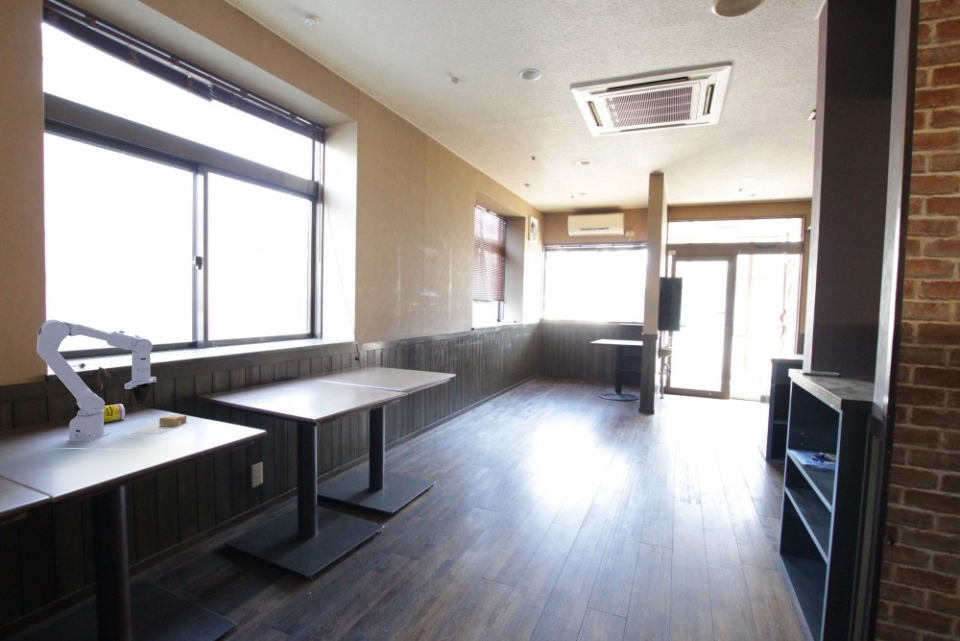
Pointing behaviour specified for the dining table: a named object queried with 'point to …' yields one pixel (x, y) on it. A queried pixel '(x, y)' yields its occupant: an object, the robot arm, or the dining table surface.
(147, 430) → the grey mat
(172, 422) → the oak block
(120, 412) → the supplement bottle
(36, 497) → the dining table surface
